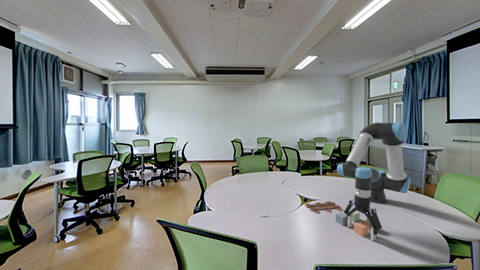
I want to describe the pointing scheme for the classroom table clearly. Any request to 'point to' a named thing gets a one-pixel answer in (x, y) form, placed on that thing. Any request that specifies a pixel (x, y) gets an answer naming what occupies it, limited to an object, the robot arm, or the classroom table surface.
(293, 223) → the classroom table surface
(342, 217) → the slate block
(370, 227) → the walnut block
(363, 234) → the terracotta block
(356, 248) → the classroom table surface
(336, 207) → the decorative fence
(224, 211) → the classroom table surface
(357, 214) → the sage block
